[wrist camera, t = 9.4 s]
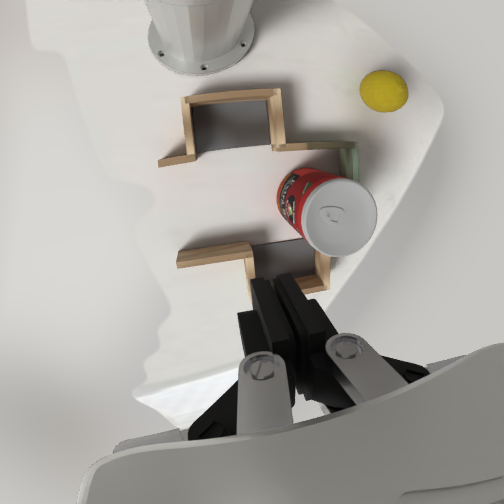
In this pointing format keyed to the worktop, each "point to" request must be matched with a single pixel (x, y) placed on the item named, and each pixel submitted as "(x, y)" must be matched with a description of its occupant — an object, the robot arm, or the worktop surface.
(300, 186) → the canned food
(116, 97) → the worktop surface
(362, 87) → the lemon
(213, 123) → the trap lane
